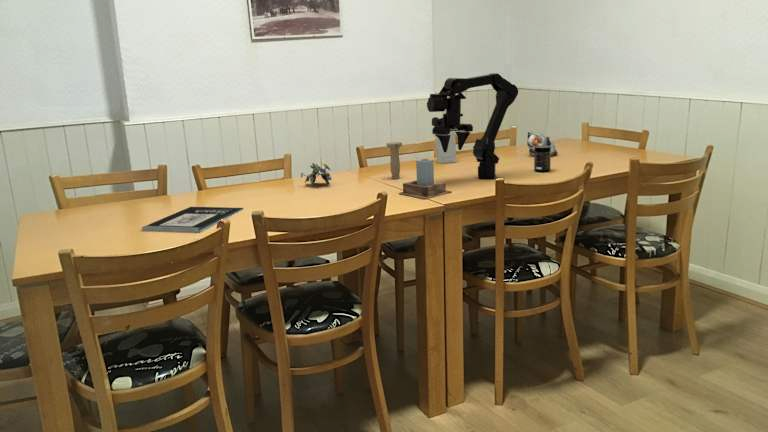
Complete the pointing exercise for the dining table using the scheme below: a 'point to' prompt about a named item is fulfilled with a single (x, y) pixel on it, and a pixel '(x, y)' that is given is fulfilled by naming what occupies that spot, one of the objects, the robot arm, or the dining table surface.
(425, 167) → the post
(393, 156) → the handle
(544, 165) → the supplement container
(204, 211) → the sketchbook
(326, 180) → the dark green irregular figure
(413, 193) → the brown wooden tray
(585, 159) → the dining table surface
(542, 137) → the lucky cat figurine
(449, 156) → the skincare box
